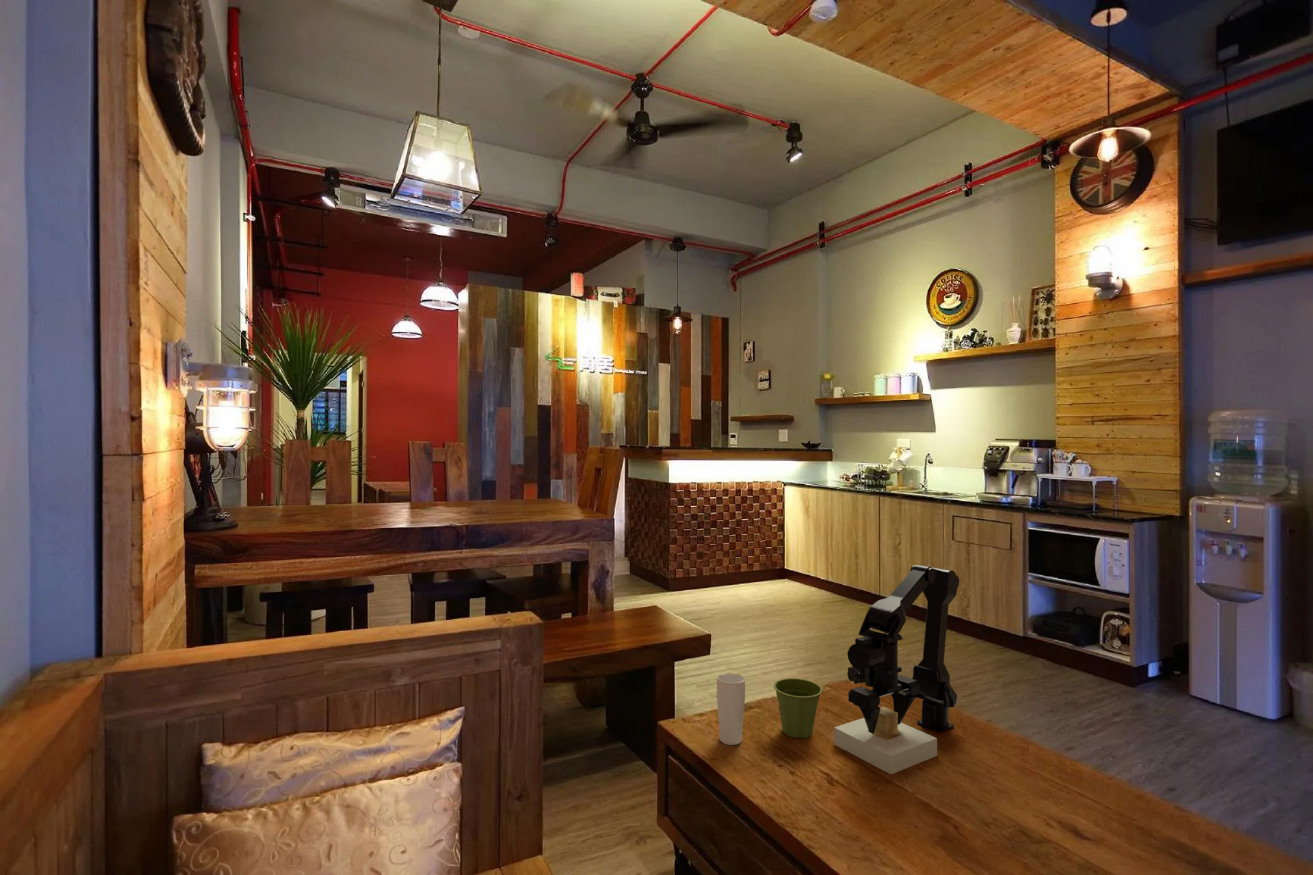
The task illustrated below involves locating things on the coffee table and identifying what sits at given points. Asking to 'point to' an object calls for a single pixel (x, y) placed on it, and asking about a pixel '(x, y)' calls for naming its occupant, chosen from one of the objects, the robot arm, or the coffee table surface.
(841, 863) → the coffee table surface
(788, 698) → the plant pot
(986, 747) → the coffee table surface
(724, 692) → the drinking glass
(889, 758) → the socket block
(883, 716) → the peg
